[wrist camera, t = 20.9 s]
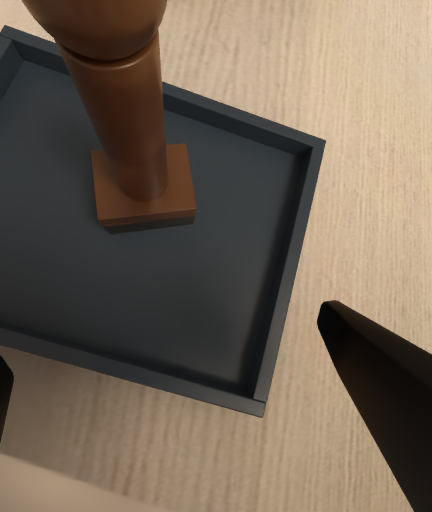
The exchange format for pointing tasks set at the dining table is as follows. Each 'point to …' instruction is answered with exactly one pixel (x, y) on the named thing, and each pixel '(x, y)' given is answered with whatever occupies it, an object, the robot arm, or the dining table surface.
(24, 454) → the dining table surface
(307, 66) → the dining table surface
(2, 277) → the tray
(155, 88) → the wooden ball stamp
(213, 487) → the dining table surface
